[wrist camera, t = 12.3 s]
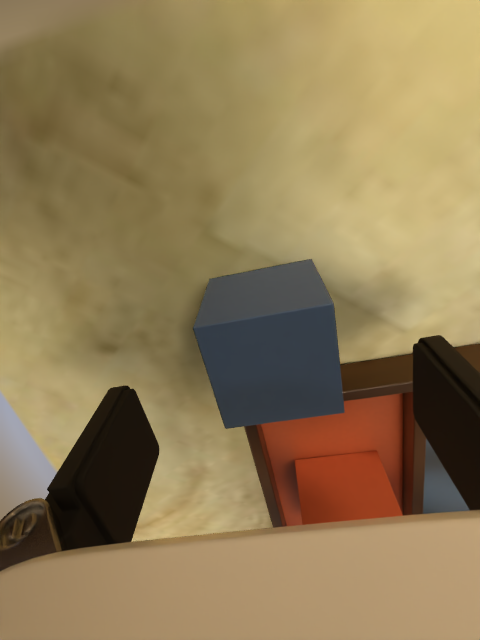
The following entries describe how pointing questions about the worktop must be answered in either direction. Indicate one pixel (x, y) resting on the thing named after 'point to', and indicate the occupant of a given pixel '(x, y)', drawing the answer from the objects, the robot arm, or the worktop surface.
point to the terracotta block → (344, 488)
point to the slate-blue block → (271, 345)
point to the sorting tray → (360, 441)
